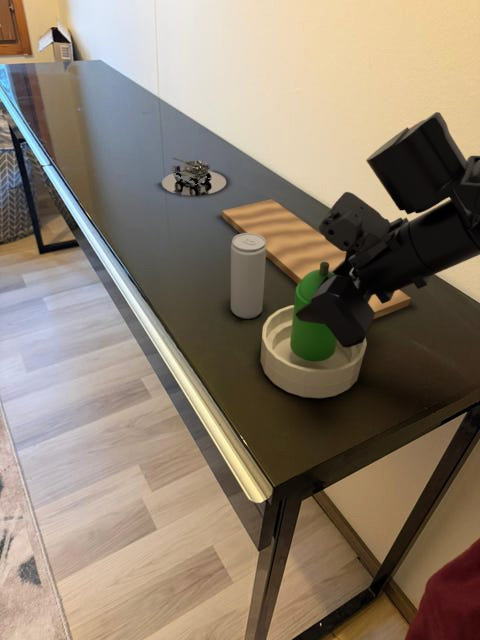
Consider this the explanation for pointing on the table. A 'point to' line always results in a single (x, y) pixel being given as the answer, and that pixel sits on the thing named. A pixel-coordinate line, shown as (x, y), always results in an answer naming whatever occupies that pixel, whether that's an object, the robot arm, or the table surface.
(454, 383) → the table surface
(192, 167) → the grey wheeled model
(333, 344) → the green spray can
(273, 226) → the cutting board
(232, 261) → the beverage can
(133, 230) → the table surface
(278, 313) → the bowl
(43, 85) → the table surface
